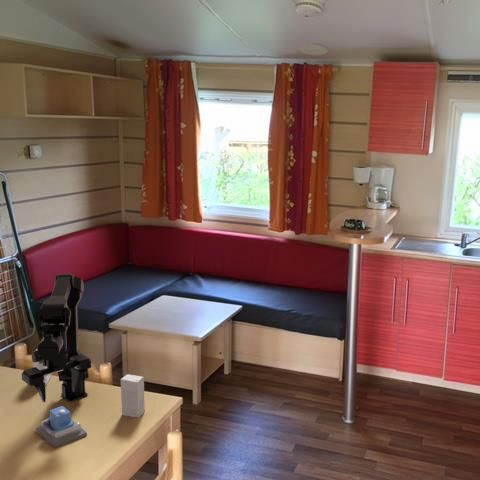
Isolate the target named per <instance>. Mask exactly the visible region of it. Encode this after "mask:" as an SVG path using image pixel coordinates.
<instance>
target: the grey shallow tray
mask: <svg viewBox="0 0 480 480" xmlns="http://www.w3.org/2000/svg"><path fill="white" fill-rule="evenodd" d="M71 422H73V423H74V425H73V426H70V427H68V428H65V429H62V430H60V429H58V430H56V431H52V430H51V423H50V421H49V420H48V418H46V419H43V420H40V423H41V424H40V426H37V427H35V432H36V433H37V434H38V435H40V436H41V437H42V438H43V439H44V440H45V441H46V442H47V443H48V444H49V445H50V446H52V448H53V449H57V448H58V447H61V446H63V445H66V444H68V443H71V442H74V441H76V440H79V439H82V438H84V437H86V436H87V437H88V433H87V431H86V430H85V429H83V428H82V423H80V421H79V422H78V421H77V422H75V421H74V420H72V419H71Z"/></svg>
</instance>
